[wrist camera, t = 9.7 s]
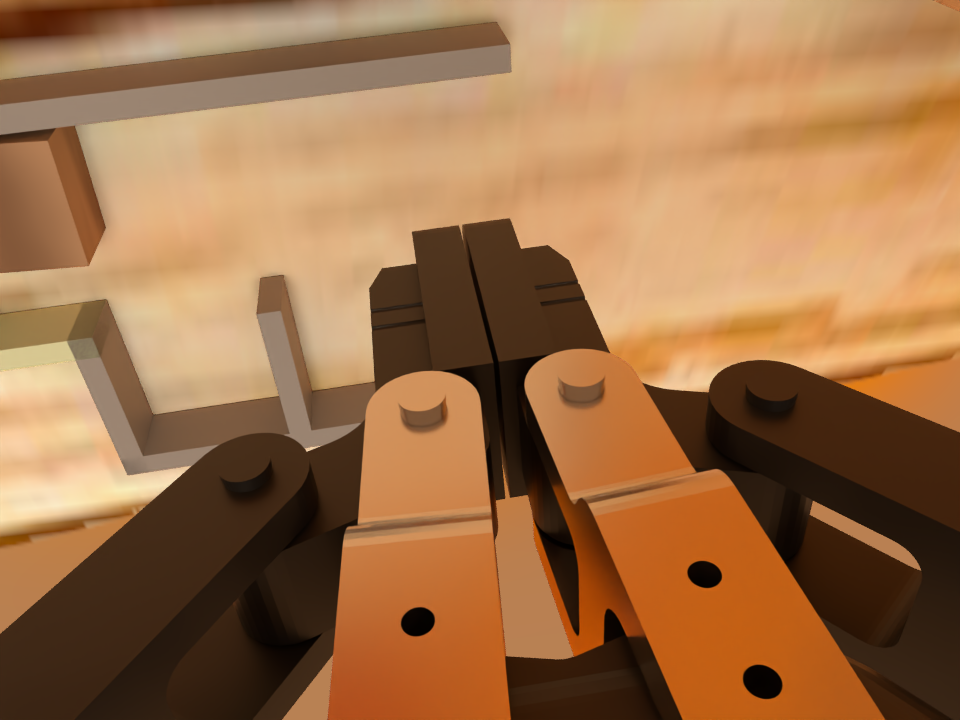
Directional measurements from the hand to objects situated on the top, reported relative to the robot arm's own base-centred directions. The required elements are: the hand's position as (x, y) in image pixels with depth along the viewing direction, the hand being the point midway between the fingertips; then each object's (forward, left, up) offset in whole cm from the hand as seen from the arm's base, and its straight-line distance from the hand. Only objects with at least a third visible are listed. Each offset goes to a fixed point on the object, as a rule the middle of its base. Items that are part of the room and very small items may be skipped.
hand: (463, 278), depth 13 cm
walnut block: (+18, +9, -29) cm, 35 cm away
